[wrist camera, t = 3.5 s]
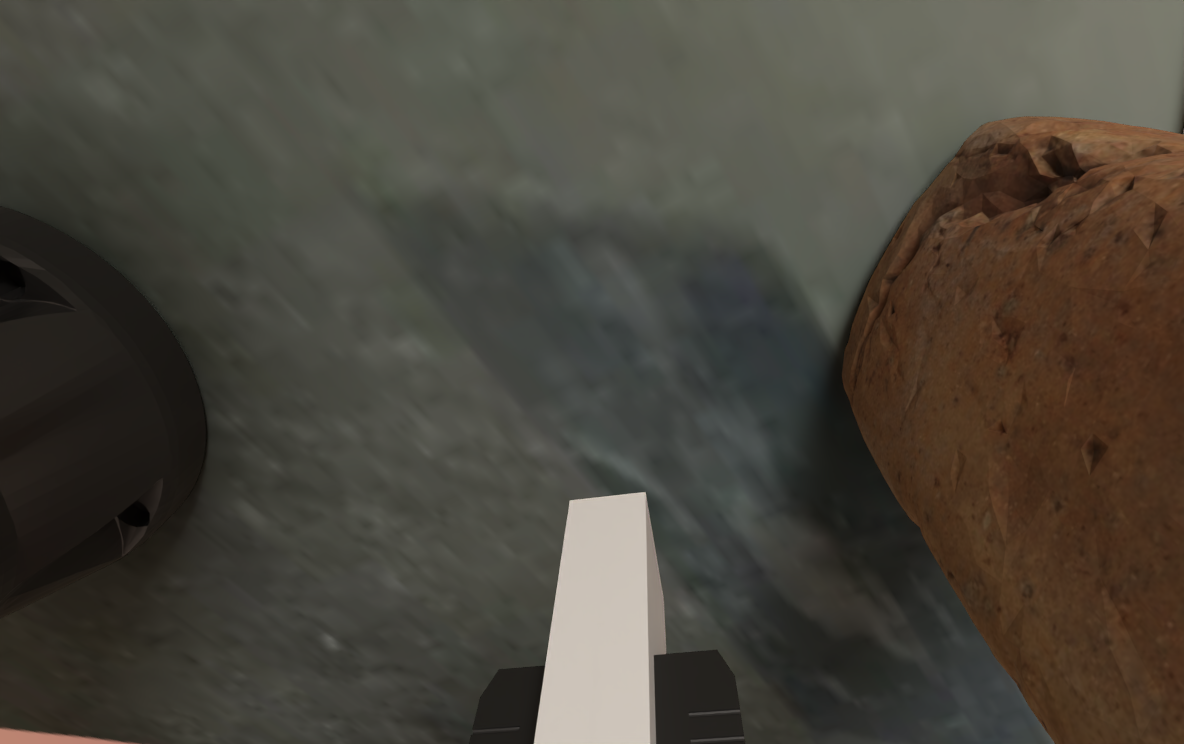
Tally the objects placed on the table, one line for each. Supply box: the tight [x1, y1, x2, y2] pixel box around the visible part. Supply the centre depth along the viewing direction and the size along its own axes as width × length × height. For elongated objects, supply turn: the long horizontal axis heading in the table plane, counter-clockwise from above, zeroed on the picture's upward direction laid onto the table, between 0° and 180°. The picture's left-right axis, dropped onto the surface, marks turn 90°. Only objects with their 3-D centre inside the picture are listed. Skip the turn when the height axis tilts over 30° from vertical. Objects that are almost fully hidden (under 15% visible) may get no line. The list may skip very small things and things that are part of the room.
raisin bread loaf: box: [842, 117, 1184, 744], centre depth 15 cm, size 11×8×20 cm
